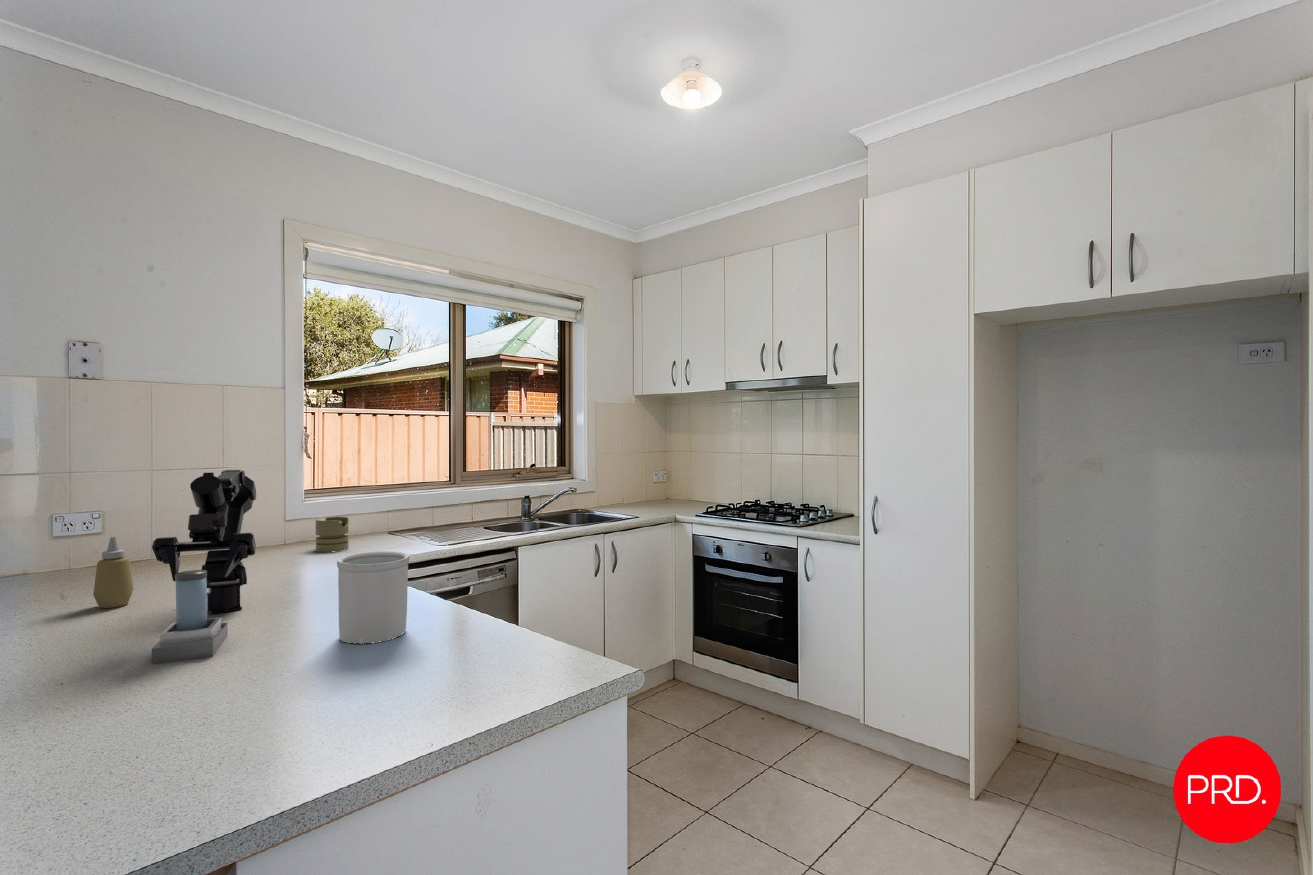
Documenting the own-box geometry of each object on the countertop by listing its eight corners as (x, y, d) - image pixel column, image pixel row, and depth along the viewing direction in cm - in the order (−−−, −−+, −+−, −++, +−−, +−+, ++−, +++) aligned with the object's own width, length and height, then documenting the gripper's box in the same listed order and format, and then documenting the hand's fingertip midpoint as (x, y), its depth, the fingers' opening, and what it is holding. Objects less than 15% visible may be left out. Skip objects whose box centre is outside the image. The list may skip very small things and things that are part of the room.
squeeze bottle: (141, 603, 168) (140, 535, 167) (106, 611, 160) (105, 540, 160) (120, 600, 170) (120, 534, 170) (85, 608, 163) (85, 538, 162)
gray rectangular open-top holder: (172, 642, 136) (172, 619, 136) (227, 636, 140) (227, 613, 140) (151, 663, 124) (151, 638, 123) (213, 656, 128) (212, 631, 128)
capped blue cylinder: (179, 632, 133) (178, 571, 133) (210, 629, 136) (209, 568, 135) (172, 640, 128) (171, 577, 128) (204, 636, 131) (203, 574, 130)
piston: (354, 517, 249) (335, 521, 237) (354, 547, 249) (335, 553, 238) (328, 516, 250) (308, 520, 239) (329, 546, 251) (308, 552, 239)
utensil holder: (423, 629, 145) (423, 553, 145) (370, 649, 132) (369, 566, 131) (377, 621, 151) (377, 548, 151) (321, 640, 138) (321, 560, 138)
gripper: (154, 501, 139) (137, 561, 129) (253, 498, 147) (244, 553, 137) (165, 532, 146) (150, 590, 137) (259, 527, 154) (251, 582, 144)
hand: (199, 578), depth 138 cm, fingers open, 9 cm apart
